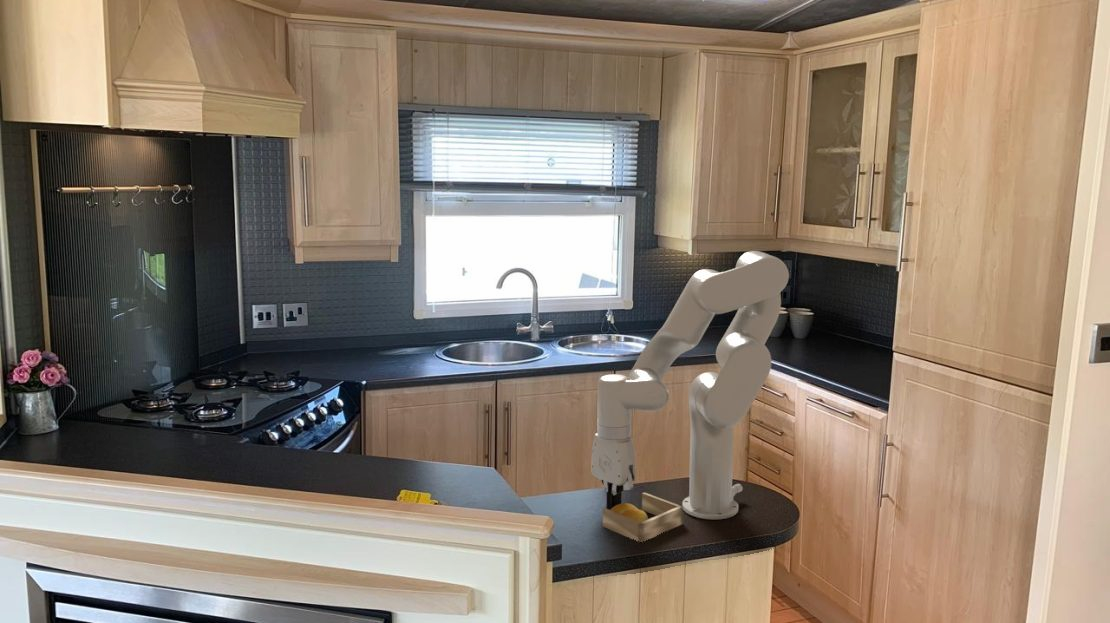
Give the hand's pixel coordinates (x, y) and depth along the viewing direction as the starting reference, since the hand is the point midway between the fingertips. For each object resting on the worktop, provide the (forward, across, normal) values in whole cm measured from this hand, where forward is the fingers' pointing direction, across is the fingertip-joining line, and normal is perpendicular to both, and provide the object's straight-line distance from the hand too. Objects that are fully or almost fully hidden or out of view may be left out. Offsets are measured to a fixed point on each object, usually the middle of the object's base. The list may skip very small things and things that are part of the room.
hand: (614, 508), depth 195 cm
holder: (+1, +8, 0) cm, 8 cm away
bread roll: (+2, +6, -2) cm, 6 cm away
